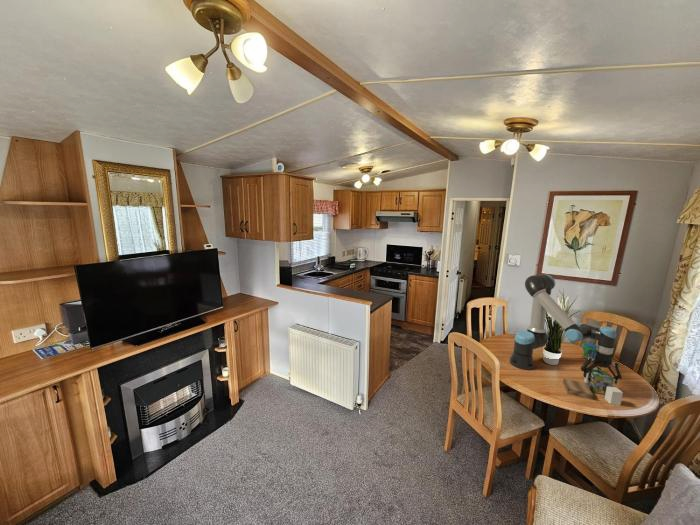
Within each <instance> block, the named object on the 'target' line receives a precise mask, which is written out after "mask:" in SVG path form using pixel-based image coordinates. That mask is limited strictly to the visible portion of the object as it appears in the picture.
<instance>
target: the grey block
mask: <svg viewBox="0 0 700 525" xmlns="http://www.w3.org/2000/svg"><path fill="white" fill-rule="evenodd" d="M623 394H624V392H623V391H622V390H620V389H619V388H618V387H615V386H614V387H608V386H607V388H606V394H604V395H605V396H604V400H605V401H606V402H608V403H609V405H613V406H614V405H615V406H621V404H622V400H623V399H622V398H623Z"/></svg>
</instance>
